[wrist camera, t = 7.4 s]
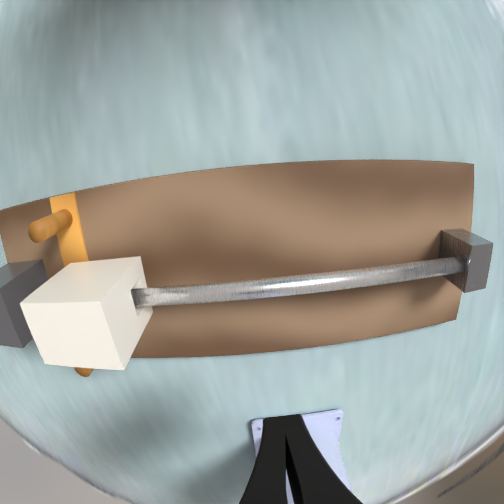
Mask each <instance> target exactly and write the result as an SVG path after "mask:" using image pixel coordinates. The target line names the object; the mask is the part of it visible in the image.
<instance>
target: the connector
mask: <svg viewBox="0 0 504 504" xmlns="http://www.w3.org/2000/svg"><path fill="white" fill-rule="evenodd" d="M46 281H48V277H47V273H46V270H45V266H44V263H43V259H40V260H31V261H23V262H15V263H8V264H6V265H4V266H3V267H1V268H0V345H3V346H11V347H19V348H24V347H25V345H26V344H27V343H28V342H29V341H30V340H31V339H32V338H33V336H32V334H31V331H30V329H29V327H28V324H27V322H26V319H25V316H24V314H23V311H22V309H21V306H20V303H21V302H22V301H23V300H24V299H25V298H27V297H28V295H29V294H31V293H33V292H34V291H35V290H36V289H38V288H39V287H40V286H41V285H43V284H44V283H45V282H46Z"/></svg>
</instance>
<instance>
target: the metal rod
mask: <svg viewBox="0 0 504 504" xmlns="http://www.w3.org/2000/svg"><path fill="white" fill-rule="evenodd" d="M492 248H493V243H492V242H490V241H488V240H486V239H484V238H482V237H479V236H477V235H475V234H473V233H471V232H469V231H467V230H464V229H462V228H459V229H446V230H441V235H440V246H439V256H438V259H433V260H426V261H418V262H410V263H402V264H394V265H386V266H377V267H369V268H360V269H351V270H342V271H333V272H323V273H314V274H304V275H294V276H283V277H273V278H262V279H251V280H240V281H228V282H216V283H203V284H191V285H177V286H163V287H148V288H133V289H131V290H130V291H131V295H132V298H133V302H134V306H135V307H142V306H162V305H180V304H195V303H210V302H223V301H236V300H248V299H259V298H270V297H280V296H290V295H300V294H309V293H318V292H327V291H335V290H343V289H351V288H359V287H367V286H374V285H382V284H389V283H396V282H403V281H409V280H416V279H422V278H429V277H435V276H441V275H442V276H443V277H444V278H446V279H447V280H448V281H450V282H451V283H452V284H454V285H455V286H456V287H457V288H459V289H460V290H461V291H463V292H464V293H466V292H471V291H475V290H479V289H484V288H486V283H487V278H488V273H489V267H490V261H491V255H492ZM29 295H30V294H29ZM29 295H28V296H29Z"/></svg>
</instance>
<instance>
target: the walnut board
mask: <svg viewBox="0 0 504 504" xmlns="http://www.w3.org/2000/svg"><path fill="white" fill-rule="evenodd" d="M473 194H474V164H469V163H460V162H443V161H421V160H328V161H304V162H286V163H272V164H259V165H247V166H236V167H226V168H217V169H208V170H200V171H192V172H184V173H177V174H170V175H163V176H156V177H150V178H143V179H137V180H131V181H126V182H120V183H114V184H109V185H104V186H99V187H94V188H89V189H84V190H79V191H75V192H70V193H66V194H61V195H57V196H53V197H48V198H44V199H40V200H36V201H32V202H28V203H25V204H21V205H17V206H13V207H10V208H6V209H3V210H0V234H1V238H2V243H3V247H4V251H5V255H6V258H7V262H8V263H15V262H23V261H31V260H40V259H43V263H44V266H45V270H46V273H47V277H48V280H49V279H50V278H51V277H53V276H54V275H55V274H57V273H58V272H59V271H61V270H62V269H63V268H65V267H66V266H67V265H68V264H70V263H76V262H86V261H96V260H106V259H117V258H127V257H137V256H141V261H142V266H143V271H144V275H145V280H146V284H147V288H148V287H163V286H177V285H191V284H203V283H216V282H228V281H240V280H251V279H262V278H273V277H283V276H294V275H304V274H314V273H323V272H333V271H342V270H351V269H360V268H369V267H377V266H386V265H394V264H402V263H410V262H418V261H426V260H433V259H438V256H439V246H440V235H441V230H446V229H459V228H462V229H464V230H467V231H469V232H471V225H472V212H473ZM461 294H462V291H461V290H460V289H459V288H457V287H456V286H455V285H454V284H452V283H451V282H450V281H448V280H447V279H446V278H444V277H443V276H442V275H441V276H435V277H429V278H422V279H416V280H409V281H403V282H396V283H389V284H382V285H374V286H367V287H359V288H351V289H343V290H335V291H327V292H318V293H309V294H300V295H290V296H280V297H270V298H259V299H248V300H236V301H223V302H210V303H195V304H180V305H162V306H152V309H153V313H152V315H151V317H150V319H149V321H148V323H147V325H146V327H145V329H144V331H143V333H142V335H141V337H140V339H139V341H138V343H137V345H136V347H135V349H134V351H133V353H132V355H131V357H130V358H173V357H205V356H224V355H239V354H252V353H264V352H274V351H284V350H293V349H301V348H309V347H317V346H324V345H331V344H338V343H345V342H351V341H357V340H363V339H369V338H374V337H380V336H385V335H390V334H395V333H400V332H405V331H410V330H414V329H419V328H423V327H427V326H432V325H436V324H440V323H444V322H448V321H452V320H456V317H457V313H458V308H459V304H460V299H461ZM74 368H75V370H76V372H77V373H78V374H80V375H81V376H84V377H88V376H89V375H90V374H91V372H92V370H93V369H94V368H81V367H74Z"/></svg>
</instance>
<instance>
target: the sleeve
mask: <svg viewBox="0 0 504 504" xmlns="http://www.w3.org/2000/svg"><path fill="white" fill-rule="evenodd" d="M133 288H147V284H146V280H145V275H144V271H143V266H142V261H141V256H137V257H127V258H117V259H106V260H96V261H86V262H76V263H70V264H68V265H67V266H66V267H65V268H63V269H62V270H61V271H59V272H58V273H57V274H55V275H54V276H53V277H51V278H50V279H49V280H48V281H46V282H45V283H44V284H43V285H41V286H40V287H39V288H38V289H36V290H35V291H34V292H33V293H31V294H30V295H29V296H28V297H27V298H25V299H24V300H23V301H22V302H21V303H20V306H21V309H22V311H23V314H24V316H25V319H26V322H27V324H28V327H29V329H30V331H31V334H32V336H33V338H34V341H35V343H36V345H37V348H38V350H39V352H40V354H41V356H42V358H43V360H44V362H45V364H50V365H59V366H69V367H81V368H94V369H110V370H125V368H126V365H127V363H128V361H129V359H130V357H131V355H132V353H133V351H134V349H135V347H136V345H137V343H138V341H139V339H140V337H141V335H142V333H143V331H144V329H145V327H146V325H147V323H148V321H149V319H150V317H151V315H152V313H153V309H152V306H142V307H135V306H134V302H133V298H132V295H131V291H130V290H131V289H133Z"/></svg>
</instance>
